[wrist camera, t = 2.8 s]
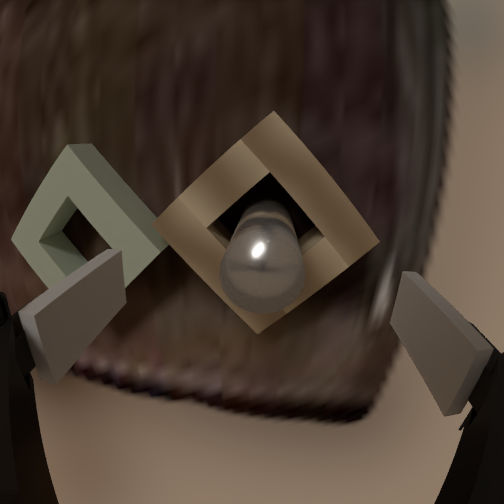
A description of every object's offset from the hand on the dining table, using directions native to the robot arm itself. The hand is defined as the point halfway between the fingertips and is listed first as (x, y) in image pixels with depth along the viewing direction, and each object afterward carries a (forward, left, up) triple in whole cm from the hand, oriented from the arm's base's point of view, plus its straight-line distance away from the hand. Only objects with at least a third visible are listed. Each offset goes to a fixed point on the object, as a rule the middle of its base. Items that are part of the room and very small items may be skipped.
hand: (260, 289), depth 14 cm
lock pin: (0, 0, -13) cm, 13 cm away
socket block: (+13, -10, -13) cm, 21 cm away
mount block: (0, 0, -13) cm, 13 cm away
